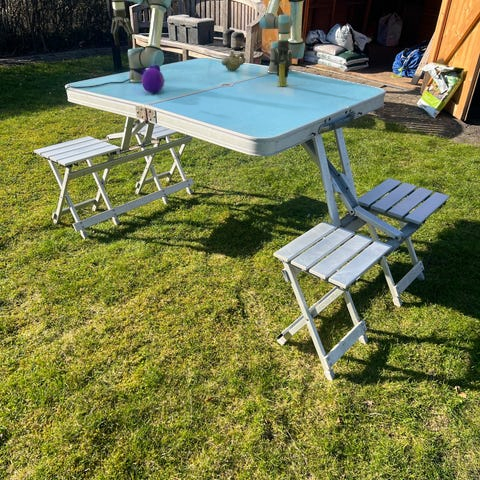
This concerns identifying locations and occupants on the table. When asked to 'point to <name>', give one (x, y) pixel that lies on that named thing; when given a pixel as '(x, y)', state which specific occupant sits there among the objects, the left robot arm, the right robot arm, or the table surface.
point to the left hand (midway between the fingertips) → (124, 45)
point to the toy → (152, 79)
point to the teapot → (233, 61)
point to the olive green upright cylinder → (282, 75)
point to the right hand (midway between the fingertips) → (282, 76)
